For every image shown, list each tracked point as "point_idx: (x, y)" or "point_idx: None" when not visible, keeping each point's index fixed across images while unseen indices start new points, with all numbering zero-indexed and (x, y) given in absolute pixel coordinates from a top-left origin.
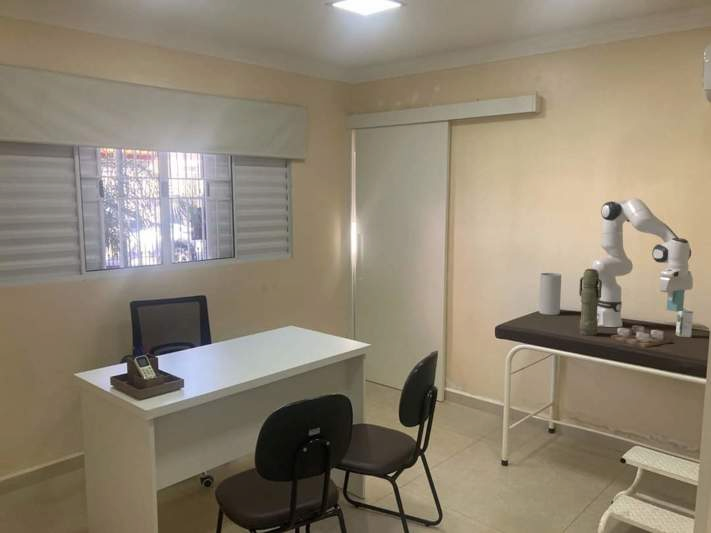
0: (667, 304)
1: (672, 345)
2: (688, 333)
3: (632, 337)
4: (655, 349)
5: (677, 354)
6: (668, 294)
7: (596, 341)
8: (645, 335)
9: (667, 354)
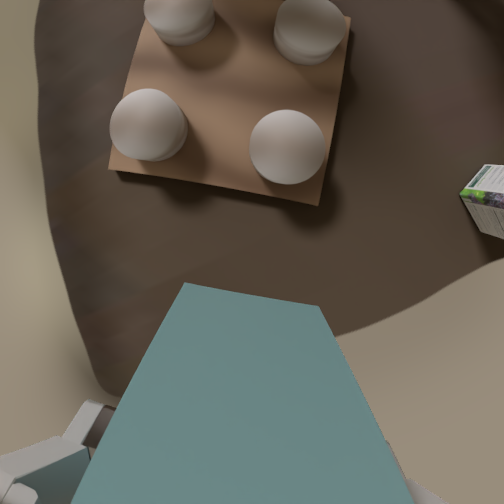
0: (167, 318)
1: (268, 241)
2: (485, 226)
3: (202, 55)
4: (120, 224)
5: (124, 324)
6: (14, 464)
7: (66, 7)
8: (122, 153)
9: (89, 297)
